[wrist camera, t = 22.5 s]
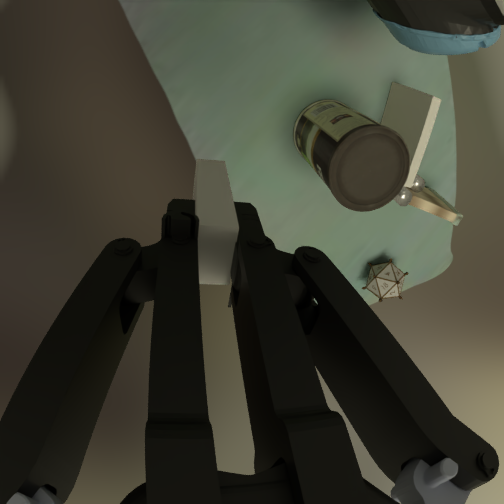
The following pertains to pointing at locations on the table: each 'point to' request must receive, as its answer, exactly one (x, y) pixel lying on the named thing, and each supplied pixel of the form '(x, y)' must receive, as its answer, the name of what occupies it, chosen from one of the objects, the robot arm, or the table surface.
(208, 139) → the table surface
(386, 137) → the coffee can
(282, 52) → the table surface
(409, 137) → the light grey flat panel
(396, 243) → the table surface
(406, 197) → the gate post
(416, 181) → the peg
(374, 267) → the game die
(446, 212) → the gate
